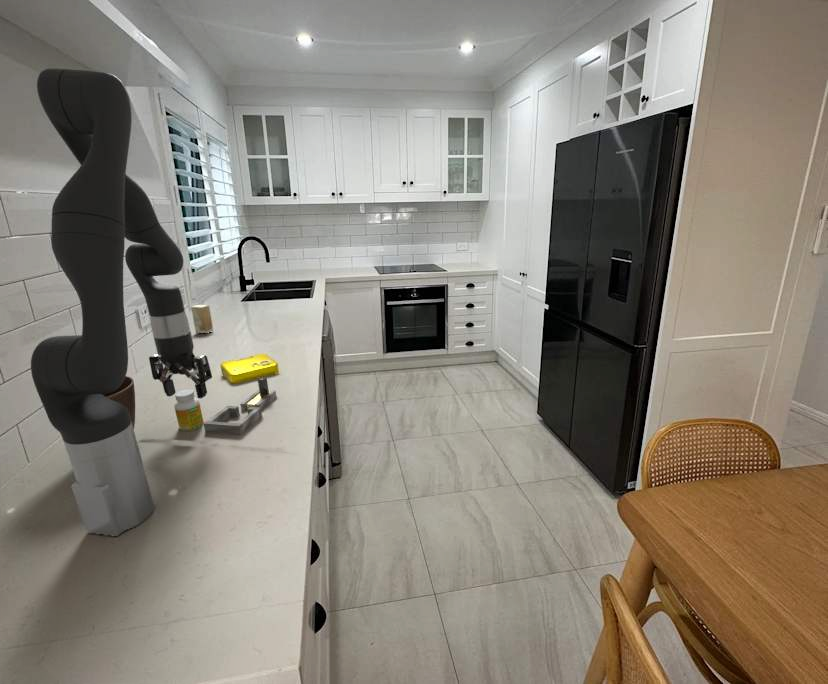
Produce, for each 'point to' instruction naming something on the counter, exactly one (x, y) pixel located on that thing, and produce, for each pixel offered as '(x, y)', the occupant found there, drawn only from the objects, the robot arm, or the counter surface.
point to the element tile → (249, 368)
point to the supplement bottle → (188, 410)
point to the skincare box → (202, 318)
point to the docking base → (254, 413)
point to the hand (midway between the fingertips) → (186, 396)
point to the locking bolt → (263, 392)
